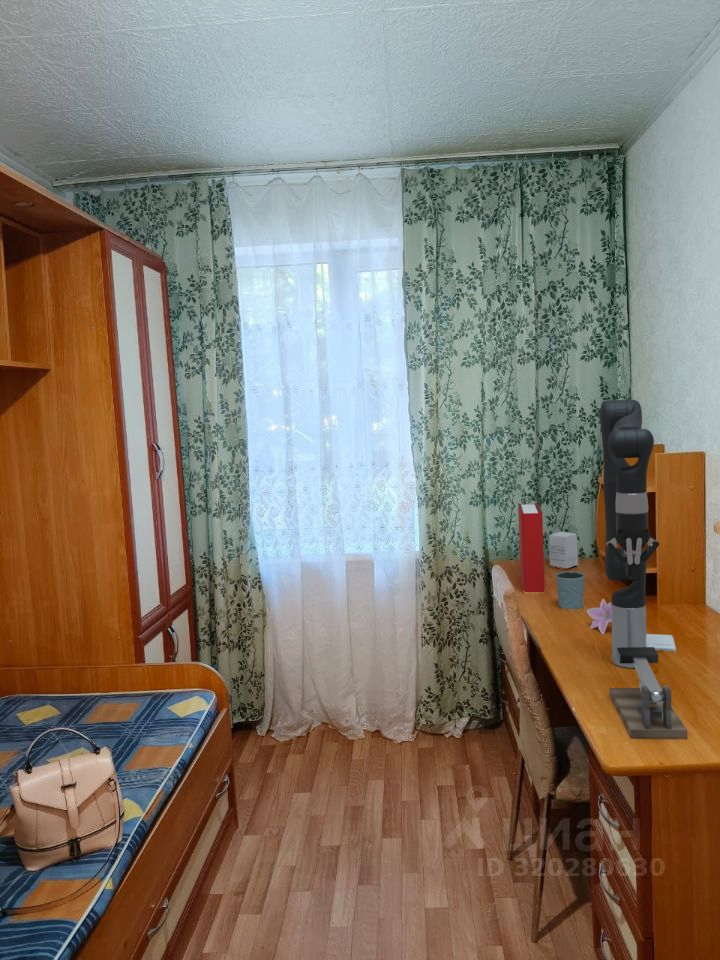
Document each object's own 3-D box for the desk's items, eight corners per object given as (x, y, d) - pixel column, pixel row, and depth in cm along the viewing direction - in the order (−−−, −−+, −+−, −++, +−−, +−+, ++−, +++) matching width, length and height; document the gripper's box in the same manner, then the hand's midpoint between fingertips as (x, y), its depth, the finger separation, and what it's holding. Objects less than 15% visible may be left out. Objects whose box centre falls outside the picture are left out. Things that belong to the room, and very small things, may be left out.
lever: (616, 661, 187) (616, 647, 186) (653, 660, 186) (654, 647, 185) (636, 709, 167) (637, 694, 166) (678, 709, 166) (679, 694, 165)
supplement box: (561, 563, 333) (560, 531, 332) (578, 566, 326) (577, 533, 325) (549, 567, 327) (548, 534, 326) (566, 570, 321) (565, 536, 319)
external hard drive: (672, 640, 229) (676, 653, 218) (644, 638, 232) (646, 652, 220) (672, 635, 229) (676, 648, 217) (644, 633, 232) (646, 646, 220)
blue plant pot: (582, 602, 272) (581, 570, 271) (588, 610, 262) (587, 577, 261) (554, 603, 273) (553, 571, 272) (558, 611, 263) (558, 578, 262)
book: (520, 577, 314) (518, 502, 310) (539, 576, 312) (537, 502, 309) (523, 594, 287) (521, 513, 284) (545, 594, 286) (542, 512, 282)
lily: (587, 625, 249) (577, 604, 246) (619, 611, 248) (611, 590, 244) (599, 647, 238) (590, 625, 235) (634, 632, 237) (625, 610, 233)
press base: (609, 695, 190) (608, 653, 189) (658, 695, 188) (657, 653, 187) (631, 738, 166) (630, 691, 165) (687, 738, 165) (686, 691, 164)
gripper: (655, 506, 186) (656, 573, 188) (601, 508, 187) (602, 575, 189) (663, 511, 178) (664, 581, 180) (607, 513, 180) (608, 582, 182)
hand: (632, 578), depth 185 cm, fingers closed
